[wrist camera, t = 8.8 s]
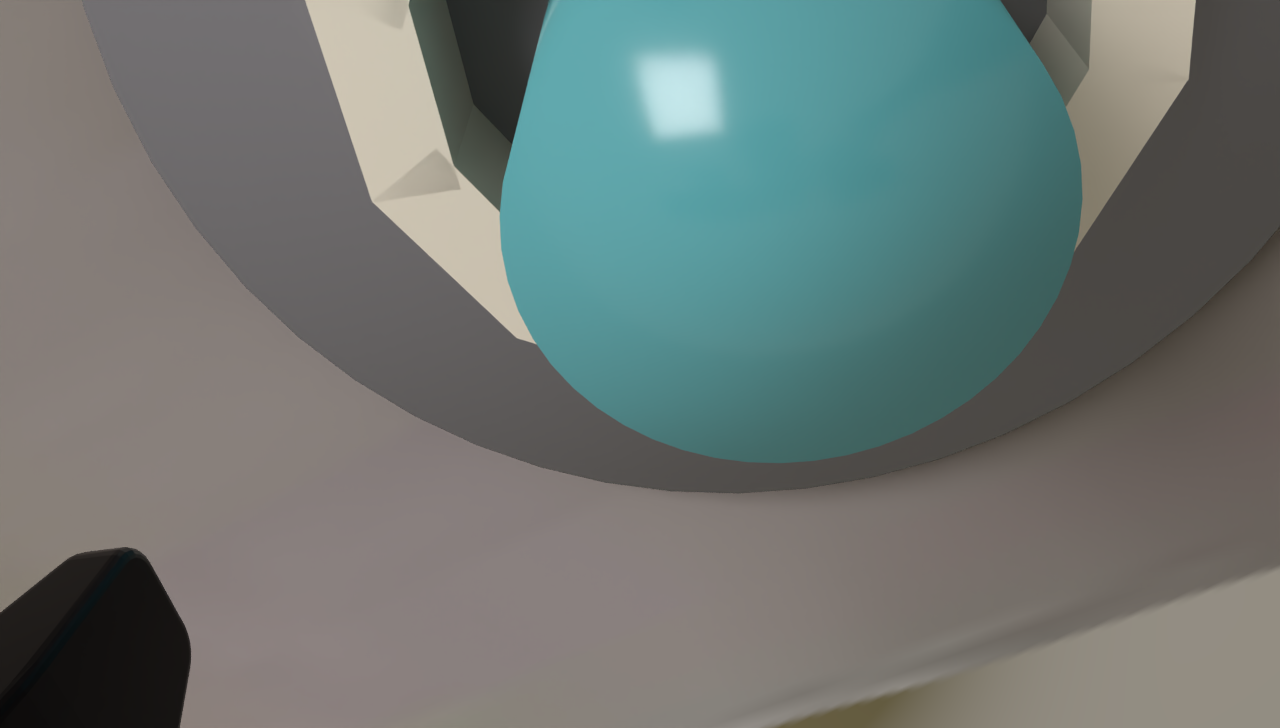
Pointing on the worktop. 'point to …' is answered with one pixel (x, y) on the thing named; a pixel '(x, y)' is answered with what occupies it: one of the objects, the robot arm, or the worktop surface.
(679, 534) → the worktop surface
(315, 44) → the round tray
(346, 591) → the worktop surface
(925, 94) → the teal rounded cylinder
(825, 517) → the worktop surface
